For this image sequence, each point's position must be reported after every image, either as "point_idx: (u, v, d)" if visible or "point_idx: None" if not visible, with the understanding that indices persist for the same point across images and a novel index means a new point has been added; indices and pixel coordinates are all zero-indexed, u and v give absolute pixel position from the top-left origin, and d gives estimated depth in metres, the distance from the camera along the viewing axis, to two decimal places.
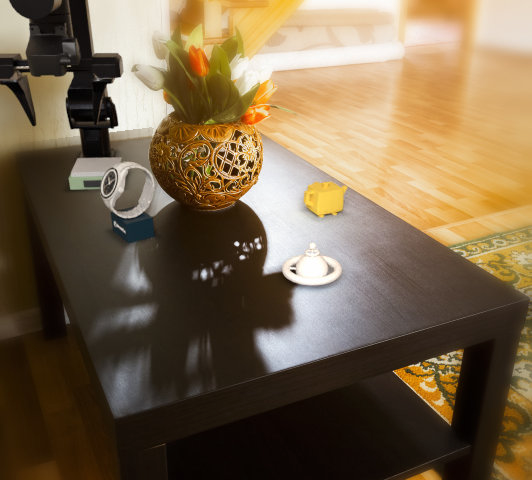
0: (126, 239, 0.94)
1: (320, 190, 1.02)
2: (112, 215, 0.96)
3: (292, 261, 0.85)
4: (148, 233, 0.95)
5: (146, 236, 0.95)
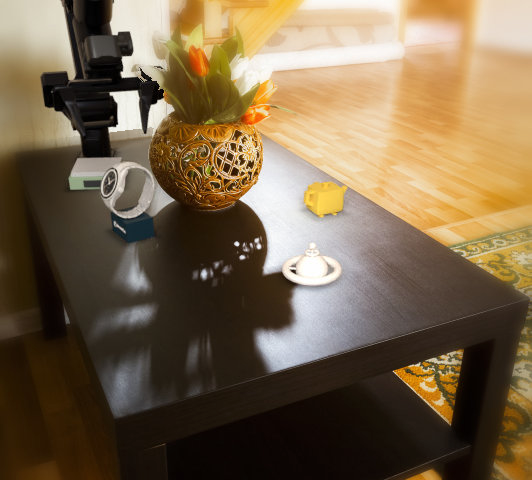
0: (126, 239, 0.94)
1: (320, 190, 1.02)
2: (112, 215, 0.96)
3: (292, 261, 0.85)
4: (148, 233, 0.95)
5: (146, 236, 0.95)
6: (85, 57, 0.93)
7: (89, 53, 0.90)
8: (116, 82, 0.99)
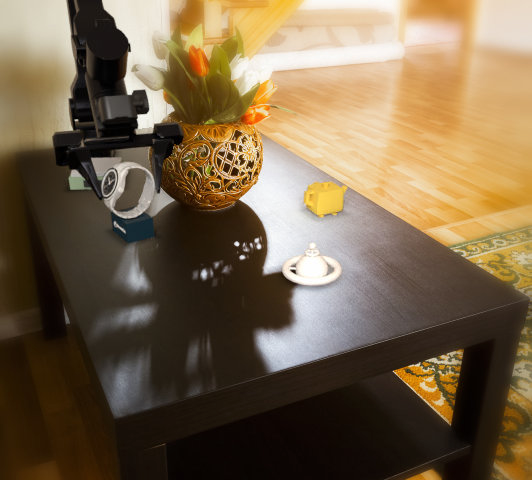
0: (126, 239, 0.94)
1: (320, 190, 1.02)
2: (112, 215, 0.96)
3: (292, 261, 0.85)
4: (148, 233, 0.95)
5: (146, 236, 0.95)
6: (99, 116, 0.90)
7: (103, 114, 0.87)
8: (130, 138, 0.96)
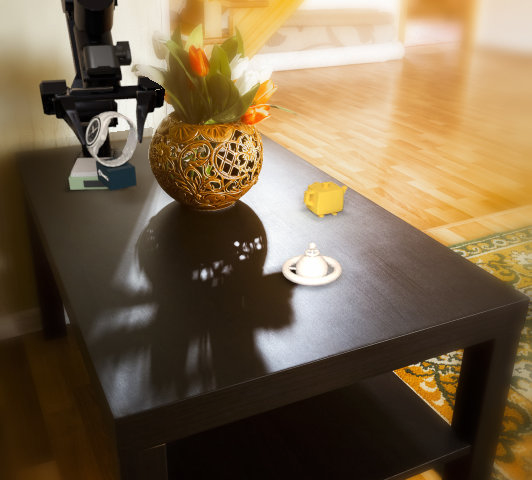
0: (109, 187, 0.98)
1: (320, 190, 1.02)
2: (97, 164, 1.00)
3: (292, 261, 0.85)
4: (130, 182, 1.00)
5: (128, 185, 1.00)
6: (84, 66, 0.94)
7: (87, 63, 0.91)
8: (115, 90, 0.99)
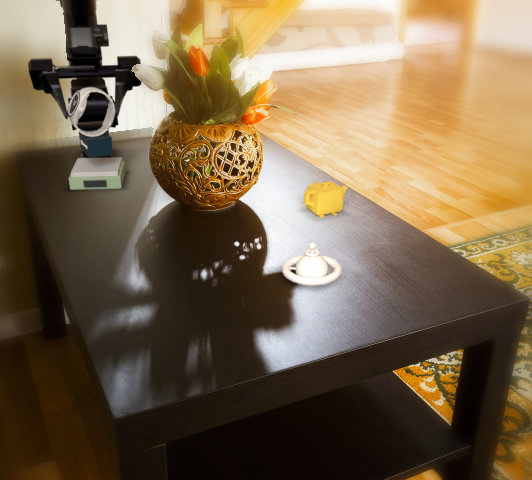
0: (88, 154, 1.10)
1: (320, 190, 1.02)
2: (79, 134, 1.12)
3: (292, 261, 0.85)
4: (108, 151, 1.11)
5: (106, 153, 1.11)
6: (67, 46, 1.06)
7: (68, 43, 1.03)
8: (98, 69, 1.11)
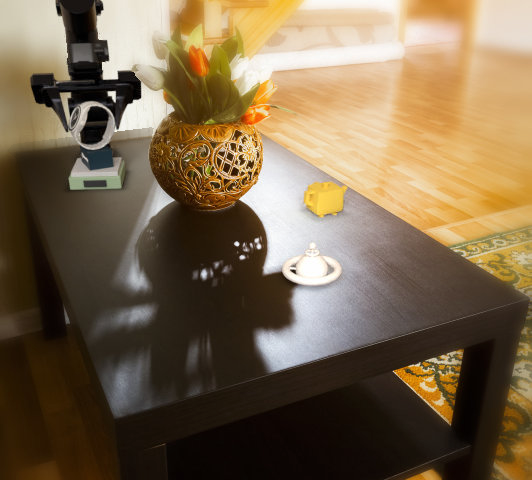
0: (88, 167, 1.12)
1: (320, 190, 1.02)
2: (80, 147, 1.14)
3: (292, 261, 0.85)
4: (108, 163, 1.13)
5: (106, 166, 1.13)
6: (68, 61, 1.08)
7: (69, 58, 1.05)
8: (98, 83, 1.14)
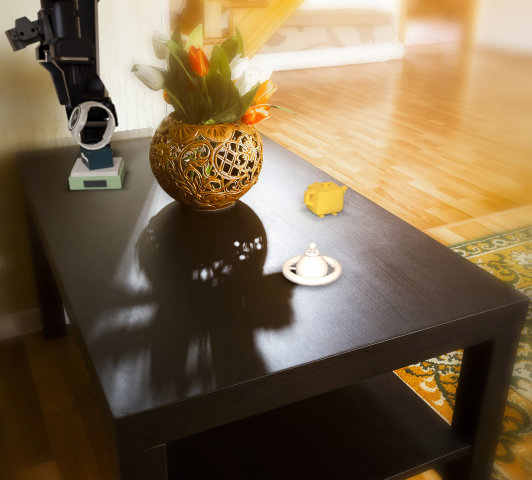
0: (88, 167, 1.12)
1: (320, 190, 1.02)
2: (80, 147, 1.14)
3: (292, 261, 0.85)
4: (108, 163, 1.13)
5: (106, 166, 1.13)
6: None
7: None
8: None
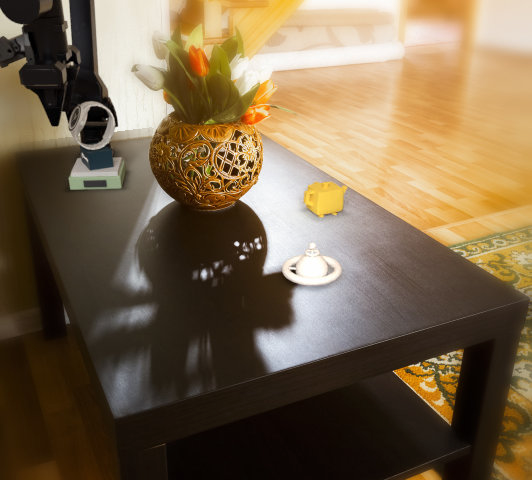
0: (88, 167, 1.12)
1: (320, 190, 1.02)
2: (80, 147, 1.14)
3: (292, 261, 0.85)
4: (108, 163, 1.13)
5: (106, 166, 1.13)
6: None
7: None
8: None
